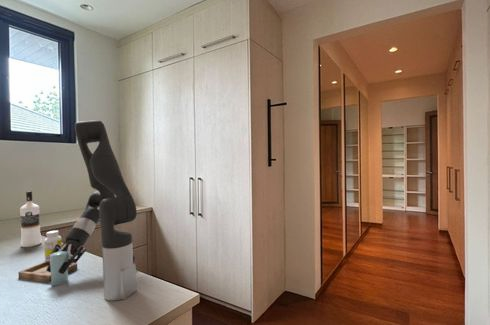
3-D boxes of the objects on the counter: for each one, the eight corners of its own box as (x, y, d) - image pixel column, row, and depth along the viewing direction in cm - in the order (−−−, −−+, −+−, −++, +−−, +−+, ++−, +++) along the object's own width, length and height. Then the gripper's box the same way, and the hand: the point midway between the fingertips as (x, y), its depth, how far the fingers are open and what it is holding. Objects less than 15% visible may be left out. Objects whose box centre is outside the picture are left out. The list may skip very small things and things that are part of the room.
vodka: (44, 241, 149) (42, 189, 148) (38, 246, 141) (36, 191, 140) (24, 243, 145) (21, 191, 145) (17, 248, 137) (14, 193, 136)
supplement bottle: (61, 254, 126) (60, 228, 126) (63, 258, 122) (62, 231, 121) (44, 258, 122) (42, 232, 122) (46, 262, 117) (44, 234, 117)
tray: (77, 268, 109) (77, 263, 109) (49, 282, 98) (49, 275, 98) (48, 265, 113) (48, 260, 113) (18, 278, 102) (18, 272, 102)
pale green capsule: (71, 279, 99) (70, 251, 99) (58, 286, 94) (57, 256, 94) (61, 278, 101) (59, 250, 101) (47, 284, 96) (46, 255, 96)
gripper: (61, 225, 106) (32, 266, 95) (89, 227, 102) (62, 270, 91) (73, 234, 111) (47, 274, 100) (100, 236, 108) (76, 278, 96)
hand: (54, 272), depth 96 cm, fingers closed on pale green capsule, 5 cm apart
